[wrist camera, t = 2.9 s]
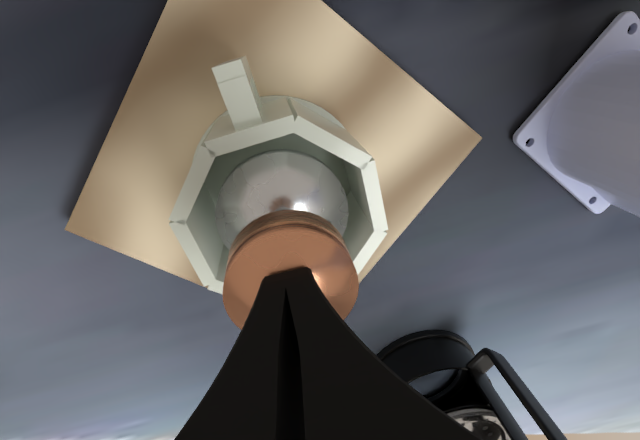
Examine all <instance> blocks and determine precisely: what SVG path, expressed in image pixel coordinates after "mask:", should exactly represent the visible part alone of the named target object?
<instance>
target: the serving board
mask: <svg viewBox="0 0 640 440" xmlns="http://www.w3.org/2000/svg"><path fill="white" fill-rule="evenodd" d="M245 55H246V58H247V61H248V64H249V67H250V70H251V72H252V75H253V78H254V81H255V84H256V87H257V90H258V93H259V96H269V95H286V96H292V97H297V98H301V99H304V100H307V101H310V102H312V103H314V104H316V105H318V106H320V107H322V108H323V109H325V110H326V111H328V112H329V113H330V114H332V115H333V116H334V117H335V118H336V119H337V120H338V121H339V122H340V123H341V124H342V125H343V126H344V128H345V129H346V130H347V131H348V132H349V133H350V134H351V135H352V136H353V137H354V138H355V139H356V140H357V141H358V142H359V143H360V144H361V146H362V147H363V148H364V149H365V150H366V151H367V152H368V153H369V154H370V155H371V156H372V158H373V159H374V160H375V164H376V169H377V174H378V179H379V184H380V190H381V195H382V200H383V205H384V210H385V215H386V220H387V225H388V230H386V232H387V235H386V236H385V238H384V239H383V240H382V242H381V243H380V245H379V246H378V247H377V249H376V250H375V252H374V253H373V254H372V256H371V257H370V259H369V260H368V262H367V263H366V264H365V266H364V267H363V269H362V270H361V271H360V273H359V274H358V280H359V283H360V282H361V281H362V279H363V278H364V277H365V276H366V275H367V273H368V272H369V271H370V270H371V269H372V268H373V266H374V265H375V264H376V263H377V262H378V261H379V259H380V258H381V257H382V256H383V255H384V253H385V252H386V251H387V250H388V249H389V248H390V246H391V245H392V244H393V243H394V242H395V240H396V239H397V238H398V237H399V236H400V235H401V233H402V232H403V231H404V230H405V229H406V227H407V226H408V225H409V224H410V223H411V222H412V220H413V219H414V218H415V217H416V216H417V214H418V213H419V212H420V211H421V210H422V209H423V207H424V206H425V205H426V204H427V203H428V201H429V200H430V199H431V198H432V197H433V196H434V194H435V193H436V192H437V191H438V190H439V188H440V187H441V186H442V185H443V184H444V183H445V181H446V180H447V179H448V178H449V177H450V175H451V174H452V173H453V172H454V171H455V170H456V168H457V167H458V166H459V165H460V164H461V162H462V161H463V160H464V159H465V158H466V157H467V155H468V154H469V153H470V152H471V151H472V149H473V148H474V147H475V146H476V145H477V144H478V142H479V141H480V140H481V139H482V137H481V136H480V135H478V134H477V133H476V132H475V131H474V130H473V129H471V128H470V127H469V126H468V125H467V124H466V123H464V122H463V121H462V120H461V119H460V118H459V117H457V116H456V115H455V114H454V113H453V112H452V111H450V110H449V109H448V108H447V107H446V106H444V105H443V104H442V103H441V102H440V101H439V100H437V99H436V98H435V97H434V96H433V95H432V94H430V93H429V92H428V91H427V90H426V89H425V88H423V87H422V86H421V85H420V84H419V83H418V82H416V81H415V80H414V79H413V78H412V77H410V76H409V75H408V74H407V73H406V72H405V71H403V70H402V69H401V68H400V67H399V66H398V65H396V64H395V63H394V62H393V61H392V60H391V59H389V58H388V57H387V56H386V55H385V54H384V53H382V52H381V51H380V50H379V49H378V48H377V47H375V46H374V45H373V44H372V43H371V42H369V41H368V40H367V39H366V38H365V37H364V36H362V35H361V34H360V33H359V32H358V31H357V30H355V29H354V28H353V27H352V26H351V25H350V24H348V23H347V22H346V21H345V20H344V19H343V18H341V17H340V16H339V15H338V14H337V13H335V12H334V11H333V10H332V9H331V8H330V7H328V6H327V5H326V4H325V3H324V2H323V1H321V0H168V1H167V4H166V6H165V8H164V10H163V12H162V15H161V17H160V19H159V21H158V24H157V26H156V28H155V30H154V32H153V35H152V37H151V39H150V41H149V43H148V46H147V48H146V50H145V52H144V55H143V57H142V59H141V61H140V63H139V66H138V68H137V70H136V72H135V75H134V77H133V79H132V81H131V83H130V86H129V88H128V90H127V92H126V95H125V97H124V99H123V101H122V103H121V106H120V108H119V110H118V112H117V115H116V117H115V119H114V121H113V123H112V126H111V128H110V130H109V132H108V135H107V137H106V139H105V141H104V143H103V146H102V148H101V150H100V152H99V154H98V157H97V159H96V161H95V163H94V166H93V168H92V170H91V172H90V174H89V177H88V179H87V181H86V183H85V186H84V188H83V190H82V192H81V194H80V197H79V199H78V201H77V203H76V206H75V208H74V210H73V212H72V214H71V217H70V219H69V221H68V223H67V226H66V228H65V230H66V231H69V232H71V233H74V234H76V235H79V236H81V237H84V238H86V239H88V240H91V241H93V242H96V243H98V244H101V245H103V246H106V247H108V248H110V249H113V250H115V251H118V252H120V253H123V254H125V255H128V256H130V257H133V258H135V259H137V260H140V261H142V262H145V263H147V264H150V265H152V266H155V267H157V268H159V269H162V270H164V271H167V272H169V273H172V274H174V275H177V276H179V277H181V278H184V279H186V280H189V281H191V282H194V283H196V284H199V285H201V286H203V284H202V282H201V281H200V279H199V277H198V275H197V273H196V272H195V270H194V268H193V266H192V264H191V263H190V261H189V259H188V257H187V255H186V254H185V252H184V250H183V248H182V247H181V245H180V243H179V241H178V239H177V238H176V236H175V234H174V232H173V230H172V229H171V227H170V225H169V222H170V220H168V219H169V217H170V215H171V212H172V210H173V208H174V205H175V203H176V201H177V198H178V196H179V194H180V192H181V189H182V187H183V185H184V182H185V180H186V178H187V175H188V173H189V171H190V168H191V166H192V161H193V157H194V154H195V151H196V148H197V146H198V144H199V142H200V140H201V138H202V136H203V135H204V133H205V132H206V130H207V129H208V128H209V126H210V125H211V124H212V123H213V122H214V121H215V120H216V119H217V118H218V117H219V116H220V115H221V114H223V113H224V112H225V111H226V110H227V107H226V105H225V102H224V100H223V97H222V95H221V92H220V89H219V87H218V84H217V81H216V78H215V76H214V73H213V71H212V67H214V66H217V65H219V64H221V63H223V62H226V61H229V60H232V59H236V58H239V57H242V56H245ZM205 287H206V288H208V286H205Z"/></svg>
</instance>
